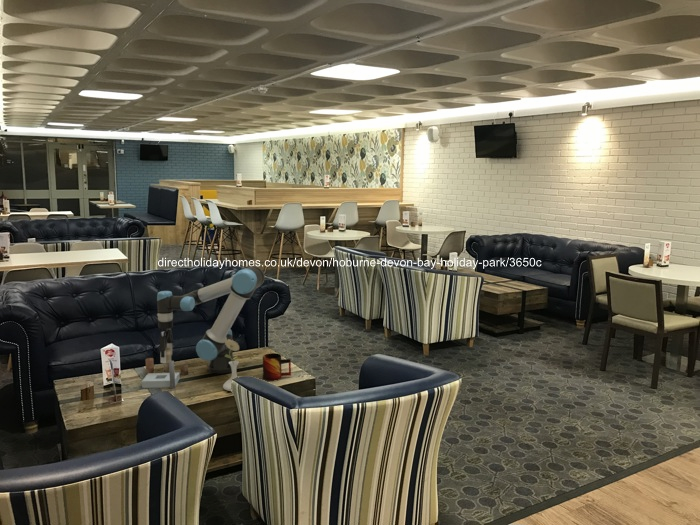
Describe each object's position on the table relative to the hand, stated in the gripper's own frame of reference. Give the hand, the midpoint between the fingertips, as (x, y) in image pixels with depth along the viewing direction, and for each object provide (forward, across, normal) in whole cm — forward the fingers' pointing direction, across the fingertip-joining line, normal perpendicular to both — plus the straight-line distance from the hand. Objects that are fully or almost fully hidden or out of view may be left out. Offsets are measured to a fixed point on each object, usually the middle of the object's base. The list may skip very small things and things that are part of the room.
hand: (166, 358), depth 299 cm
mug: (+8, +9, +59) cm, 60 cm away
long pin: (+8, 0, 0) cm, 9 cm away
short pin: (+8, +1, +9) cm, 13 cm away
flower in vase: (+8, +24, +38) cm, 46 cm away
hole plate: (+8, +15, +1) cm, 18 cm away
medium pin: (+9, +1, -9) cm, 12 cm away
